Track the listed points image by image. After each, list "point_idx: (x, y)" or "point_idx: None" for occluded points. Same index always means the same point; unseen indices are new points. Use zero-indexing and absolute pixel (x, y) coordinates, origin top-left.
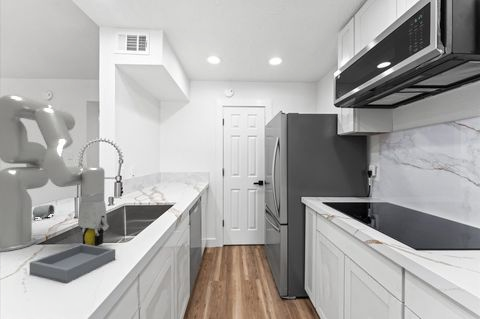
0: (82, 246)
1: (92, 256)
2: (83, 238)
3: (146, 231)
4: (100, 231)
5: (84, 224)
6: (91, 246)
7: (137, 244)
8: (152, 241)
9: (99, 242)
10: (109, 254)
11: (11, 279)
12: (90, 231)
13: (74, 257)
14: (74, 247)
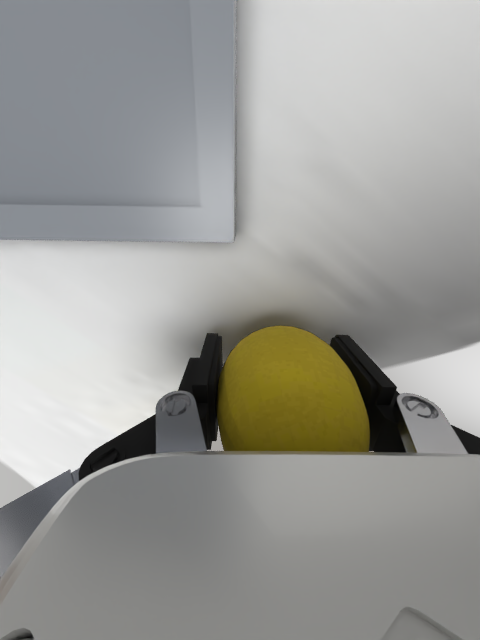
0: (182, 207)
1: (27, 174)
2: (361, 359)
3: None
4: (128, 447)
5: (449, 538)
6: (44, 213)
7: (57, 438)
8: (33, 479)
9: (189, 362)
10: None
11: None
12: (275, 420)
13: (149, 87)
14: (197, 105)
